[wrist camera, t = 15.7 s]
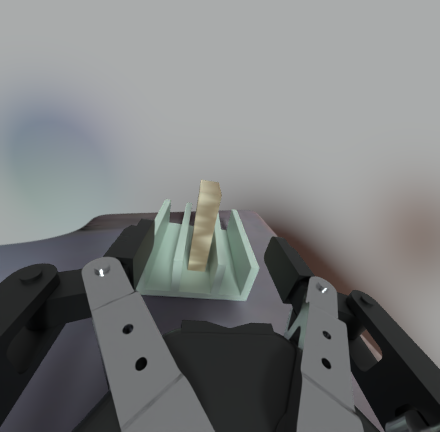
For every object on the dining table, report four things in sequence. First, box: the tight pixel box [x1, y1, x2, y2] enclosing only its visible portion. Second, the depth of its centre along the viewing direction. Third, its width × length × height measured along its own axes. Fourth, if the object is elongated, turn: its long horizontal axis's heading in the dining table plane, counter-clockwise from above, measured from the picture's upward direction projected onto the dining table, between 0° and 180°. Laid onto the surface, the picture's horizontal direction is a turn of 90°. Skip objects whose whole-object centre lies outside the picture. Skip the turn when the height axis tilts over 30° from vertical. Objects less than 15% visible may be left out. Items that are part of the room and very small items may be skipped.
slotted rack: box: [136, 200, 259, 301], centre depth 27 cm, size 14×16×6 cm
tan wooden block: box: [188, 180, 222, 272], centre depth 24 cm, size 2×5×12 cm, turn 4°
